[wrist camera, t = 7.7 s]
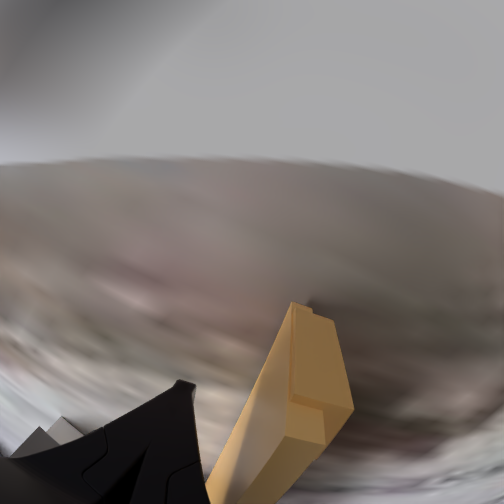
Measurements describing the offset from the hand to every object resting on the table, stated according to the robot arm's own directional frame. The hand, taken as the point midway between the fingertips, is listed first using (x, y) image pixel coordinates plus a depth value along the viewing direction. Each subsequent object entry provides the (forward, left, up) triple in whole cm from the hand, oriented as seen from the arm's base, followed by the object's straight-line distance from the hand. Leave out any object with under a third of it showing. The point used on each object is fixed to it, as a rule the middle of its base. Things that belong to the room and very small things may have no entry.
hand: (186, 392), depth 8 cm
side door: (-4, +3, -3) cm, 6 cm away
